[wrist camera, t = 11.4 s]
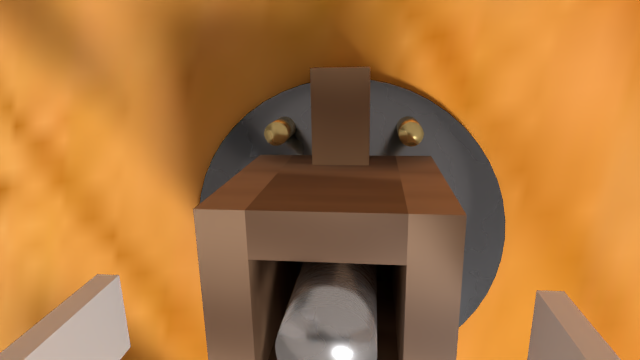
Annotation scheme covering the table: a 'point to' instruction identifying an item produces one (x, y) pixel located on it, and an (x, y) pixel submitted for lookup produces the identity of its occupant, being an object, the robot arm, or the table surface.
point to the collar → (333, 233)
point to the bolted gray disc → (361, 279)
